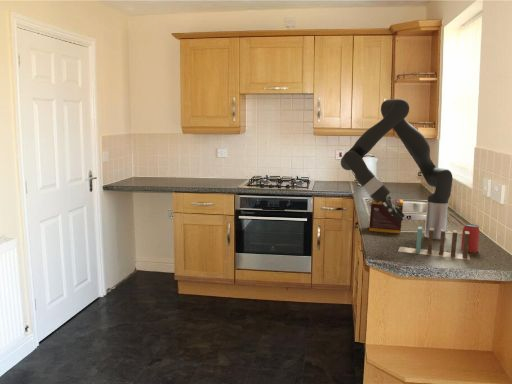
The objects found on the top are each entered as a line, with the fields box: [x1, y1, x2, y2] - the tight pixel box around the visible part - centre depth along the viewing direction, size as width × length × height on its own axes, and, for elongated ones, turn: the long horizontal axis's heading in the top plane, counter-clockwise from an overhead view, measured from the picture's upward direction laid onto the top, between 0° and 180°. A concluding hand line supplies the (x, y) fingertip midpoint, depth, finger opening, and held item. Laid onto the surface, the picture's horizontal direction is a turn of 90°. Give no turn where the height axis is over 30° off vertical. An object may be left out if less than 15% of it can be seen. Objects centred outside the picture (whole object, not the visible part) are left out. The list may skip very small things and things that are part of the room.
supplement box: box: [368, 198, 404, 234], centre depth 249 cm, size 10×15×16 cm
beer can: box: [460, 223, 480, 253], centre depth 210 cm, size 7×7×12 cm
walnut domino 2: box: [438, 229, 446, 257], centre depth 202 cm, size 2×5×10 cm, turn 159°
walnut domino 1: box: [427, 228, 434, 254], centre depth 204 cm, size 2×5×10 cm, turn 159°
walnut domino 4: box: [462, 231, 470, 258], centre depth 199 cm, size 2×5×10 cm, turn 159°
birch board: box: [398, 246, 471, 261], centre depth 204 cm, size 28×8×1 cm, turn 69°
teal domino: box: [415, 226, 423, 253], centre depth 206 cm, size 2×5×10 cm, turn 159°
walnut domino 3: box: [450, 229, 458, 257], centre depth 201 cm, size 2×5×10 cm, turn 159°
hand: (402, 219), depth 207 cm, fingers open, 8 cm apart
